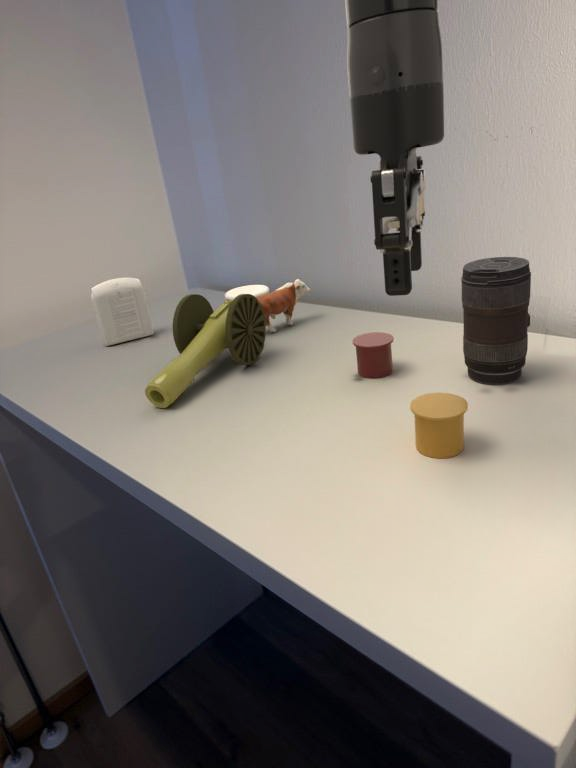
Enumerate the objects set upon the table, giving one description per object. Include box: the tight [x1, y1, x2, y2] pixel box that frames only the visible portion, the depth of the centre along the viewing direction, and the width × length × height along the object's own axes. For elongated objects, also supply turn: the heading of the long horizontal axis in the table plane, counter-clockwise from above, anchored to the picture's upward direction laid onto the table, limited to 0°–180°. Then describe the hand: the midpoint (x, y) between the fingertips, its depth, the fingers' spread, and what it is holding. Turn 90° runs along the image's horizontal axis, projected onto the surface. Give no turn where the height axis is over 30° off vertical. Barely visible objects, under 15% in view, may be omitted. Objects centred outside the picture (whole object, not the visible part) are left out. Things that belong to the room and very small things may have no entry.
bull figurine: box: [256, 278, 311, 333], centre depth 102 cm, size 4×13×8 cm, turn 124°
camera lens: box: [460, 256, 532, 385], centre depth 69 cm, size 8×8×15 cm
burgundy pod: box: [351, 331, 395, 379], centre depth 78 cm, size 6×6×5 cm
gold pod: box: [409, 392, 469, 459], centre depth 57 cm, size 6×6×5 cm
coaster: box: [224, 284, 270, 301], centre depth 121 cm, size 10×10×4 cm
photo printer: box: [90, 277, 155, 347], centre depth 107 cm, size 10×4×12 cm, turn 116°
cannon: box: [144, 293, 267, 409], centre depth 84 cm, size 25×12×11 cm, turn 154°
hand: (405, 281), depth 51 cm, fingers open, 8 cm apart
